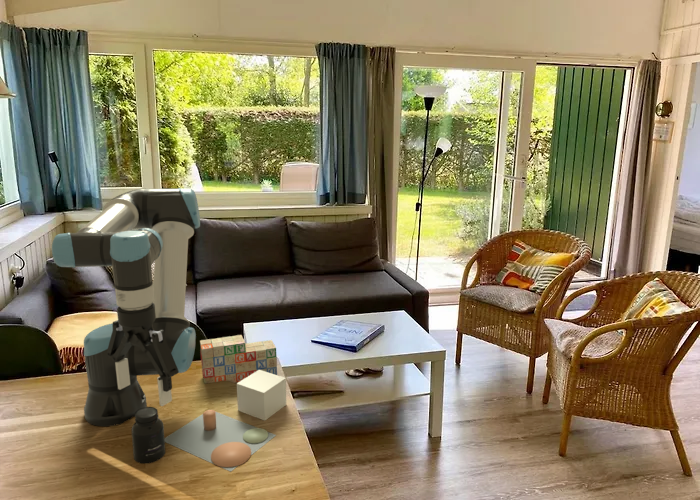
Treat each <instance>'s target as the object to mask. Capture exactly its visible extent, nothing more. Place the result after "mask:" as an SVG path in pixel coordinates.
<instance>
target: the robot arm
mask: <svg viewBox="0 0 700 500" xmlns="http://www.w3.org/2000/svg"><path fill="white" fill-rule="evenodd" d="M200 216H201V215H200V210H199V203H198V200H197V196H196V193H195V191H194V190H193V189H191V188H185V187H184V188H181V187H177V188H138V189H131V190H128V191H126V192H123V193H121V194H119V195H117V196H115V197H113V198H112V199H110V200H108V202H106V203H105V205H104V206H103V208H102V211H101V212H100V213H99V214H98V215H96V216H95V217H94V218H93V219H91V220H90V221H88V223H86V224H85V225H84V226H83V227H81V228H80V229H79V230H78V231H76V232H66V233H59V234H56V235H55V236H54V238H53V240H52V242H51V254H52V259H53V262H54V263H55V264H56V266H58V267H61V268H73V269H74V268H86V267H87V268H89V267H112V276H113V282H114V290H115V300H116V301H115V302H116V306H117V308H116V315H117V320H115V321H112V323H108V324H105V325H102V326H99V327H97V328H95V329H93V330H91V331H90V332H89V333H88V334H86V335H85V336H84V339H83V356H84V362H85V368H86V369H85V370H86V371H85V372H86V378H87V384H88V391H87V394H86V400H85V404H84V407H83V412H84V418H85V421H86V422H87V423H88V424H90V425H93V426H97V427H113V426H118V425H122V424H124V423H126V422H128V421H130V420H131V419H133V418H135V413H136V412H137V411H138V410H139V409H141V408H145V407H148V406H147V404H148V403H147V398H146V397H147V396H146V395H145V392H144V390H143V388H142V386H141V385H140V382H139V380H138V377H137V376H154V375H155V376H156V375H158V377H156V379H157V389H158V390H157V392H158V400H159V403H158V404H159V406H161V407H164V406H166V405H167V404H168V403H171V402H172V401H173V397H172V389H173V383H172V379H173V378H172V377H174V376H175V375H177V374H182V373H185V372H187V371H188V370H189V369H190V367H191V365H192V362H193V360H194V355H195V349H196V339H197V336H196V335H197V334H196V330H195V328H194V327H192V326H190V325H191V324H190V320H188V319H187V317H185V311H186V309H185V308H186V291H187V290H186V288H187V269H188V249H189V239H191V238H192V237H193V236H194V234H195V229H198V228H200V227H201V218H200ZM135 229H136V230H135ZM153 264H154V267H153V268H154V269H152V265H153ZM152 270H153V273H152Z"/></svg>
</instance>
